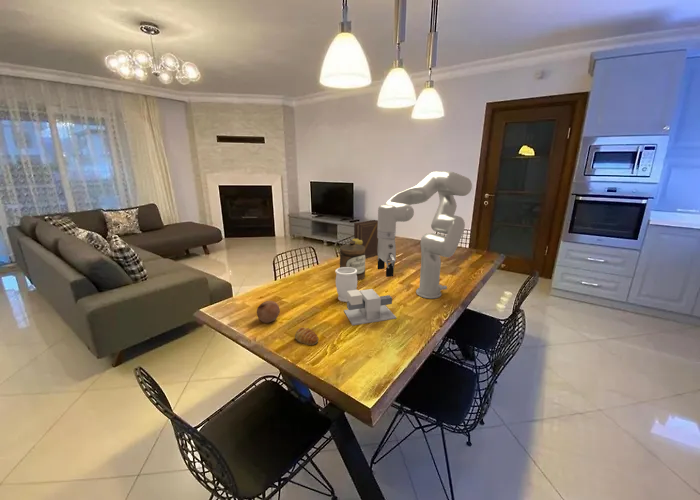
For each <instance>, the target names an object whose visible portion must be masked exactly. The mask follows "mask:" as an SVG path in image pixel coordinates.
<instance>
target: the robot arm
mask: <svg viewBox="0 0 700 500" xmlns="http://www.w3.org/2000/svg"><path fill="white" fill-rule="evenodd" d="M472 189H473V184H472V181H471V179H470V178H469V177H467V176H464V175H462V174H459V173H458V172H454V171H450V170H449V171H448V170H447V171H446V170H445V171H443V170H434V171H431V172H430V173H429V174H427V175H426V176H425V177H424V178H423V179H421V180H420V181H419V182H418V183H417V184H416V185H414V186H412V187H409V188H407V189H405V190H403V191H400V192H397V193H396V194H395V195H393V196H392V197H390V198H389V199H388V200H387V201H386V202H385V203H384V204H381V205H379V206H378V209H377V221H378V236H377V238H378V249H377V252H378V254H377V269H378V270H385V277H386V278H391V277H394V270H395V269H394V268H395V265H396V261H397V255H396V254H397V249H396V248H397V247H396V233H397V232H396V228H397V227H396V226H397V222H402V223H404V222H409V221H410V220H412V218H413V217H414V214H415V210H414V208H413V206H412V205H418V204H423V203H426V202H427V201H429V199H431V198H432V197H433V196H434V195H435V194H436V193H437V192H438V193H437V194H438V198H439V204H438V206H437V208H436V212H435V213H434V216H433V218H432V221H431V224H430V227H431V229H432V230H433V231H434V232H436V233H439V234H436V233H433V232H432V233H431V232H428V233H425V234H424V235H422V237H421V238H420V243H419V245H420V252H421V254H420V255H421V261H420V272H419V273H420V275H419V276H420V277H419V287H418V288H417V289H416V290H415V293H416V294H417V295H418V296H419V297H421V298H424V299H431V300H432V299H437V298H438V299H439V298H440V297H441V296H442V290H443V291H444V290H448V286H447V285H442V284H440V278H441V277H440V276H441V274H440V273H441V264H442V262H441V261H442V260H441V257H444V258H451V257H452V256H454V254H455V252H456V250H457V248H458V246H459V244H460V242H461V239H462V237H463V234H464V231H465V227H466V224H465V220H464V218H463V217H462V216H459V215H455V213H456V210H457V202H456V199H455V197H454V196H456V197H457V196H458V197H464V196H467V195H469V194H470V193H471V192H472V191H471V190H472ZM442 234H443V235H442ZM385 264H386V268H385Z"/></svg>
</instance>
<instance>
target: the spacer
mask: <svg viewBox="0 0 700 500" xmlns="http://www.w3.org/2000/svg"><path fill="white" fill-rule="evenodd" d="M362 298H363V295H362V294H361V293H360V290H359V289H356V290H351V291H347V300H348V301H349V303H350V304H351V305H357V304H362Z"/></svg>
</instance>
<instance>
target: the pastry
mask: <svg viewBox="0 0 700 500" xmlns="http://www.w3.org/2000/svg"><path fill="white" fill-rule="evenodd" d="M294 338H295V340H296V341H297V342H298V343H301V344H304V345H309V346H313V345H316V344H318V342H319V338H320V337H318V334H316V332H315V331H313V329H310V328H309V327H307V328H306V327H304V326H303V327H300V328H299V329H298V330H297V331H296V332H295V335H294Z"/></svg>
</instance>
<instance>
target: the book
mask: <svg viewBox="0 0 700 500" xmlns="http://www.w3.org/2000/svg"><path fill="white" fill-rule="evenodd" d="M353 226H354V227H353V234H354V235H353V238H352V239H351V241H352V240H353V241H355V244H359V245H363V246H365V260H366V259H370V258H373V257H378V255H377V254H378V252H377V249H378V238H377V236H378V219H377V220H376V219H373V220H372V219H371V220H366V221H365V220H364V221H359V222H355V223H354V224H353Z"/></svg>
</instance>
